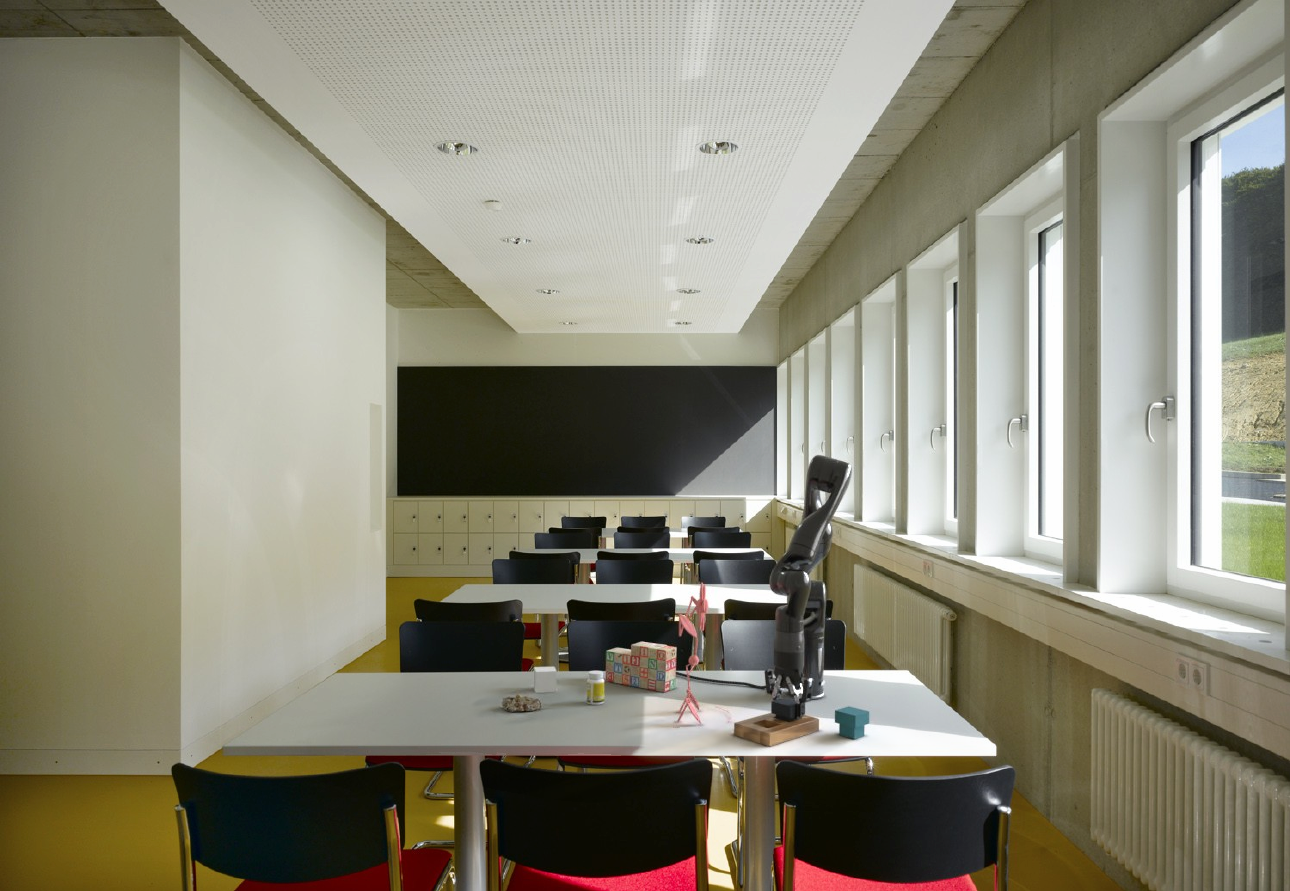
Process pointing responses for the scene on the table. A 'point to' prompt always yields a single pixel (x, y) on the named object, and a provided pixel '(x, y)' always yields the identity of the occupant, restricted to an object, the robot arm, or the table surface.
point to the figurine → (693, 660)
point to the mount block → (774, 729)
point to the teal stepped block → (851, 721)
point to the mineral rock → (521, 703)
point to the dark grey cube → (784, 709)
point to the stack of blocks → (643, 666)
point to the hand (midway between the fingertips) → (788, 715)
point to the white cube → (545, 679)
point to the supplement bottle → (595, 688)
